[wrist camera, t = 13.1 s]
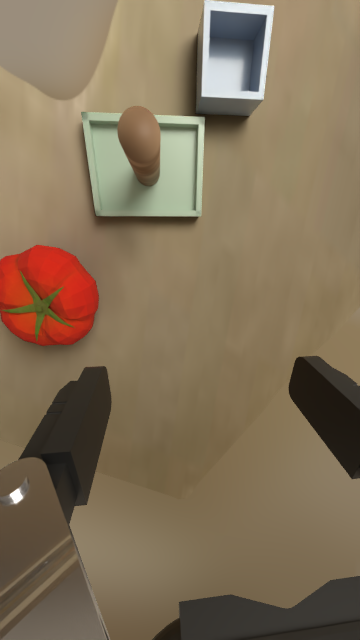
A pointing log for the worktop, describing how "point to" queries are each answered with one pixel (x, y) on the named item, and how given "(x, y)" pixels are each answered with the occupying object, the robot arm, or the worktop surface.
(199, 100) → the pale blue open box
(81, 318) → the tomato
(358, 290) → the worktop surface
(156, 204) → the tray
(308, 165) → the worktop surface
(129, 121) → the dowel
